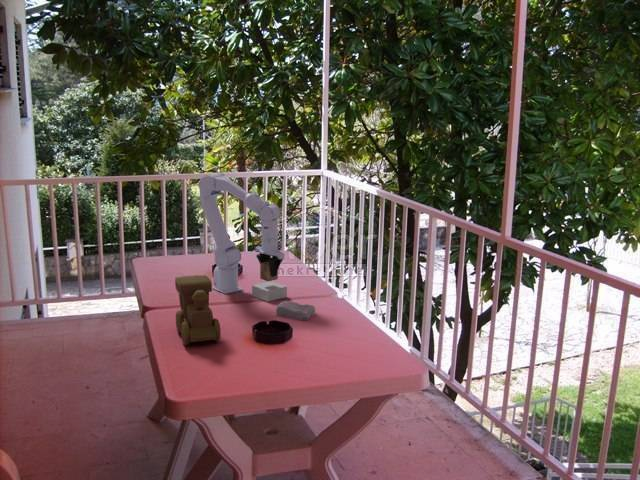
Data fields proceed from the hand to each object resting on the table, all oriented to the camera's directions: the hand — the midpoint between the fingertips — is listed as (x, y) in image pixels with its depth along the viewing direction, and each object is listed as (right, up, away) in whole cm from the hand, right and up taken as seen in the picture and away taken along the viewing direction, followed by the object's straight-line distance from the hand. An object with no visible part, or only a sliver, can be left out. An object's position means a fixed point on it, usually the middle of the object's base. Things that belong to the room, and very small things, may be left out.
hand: (269, 274), depth 241 cm
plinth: (0, -8, +2) cm, 8 cm away
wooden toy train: (-19, -17, -39) cm, 46 cm away
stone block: (+11, -13, -16) cm, 23 cm away
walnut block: (0, -2, 0) cm, 2 cm away
